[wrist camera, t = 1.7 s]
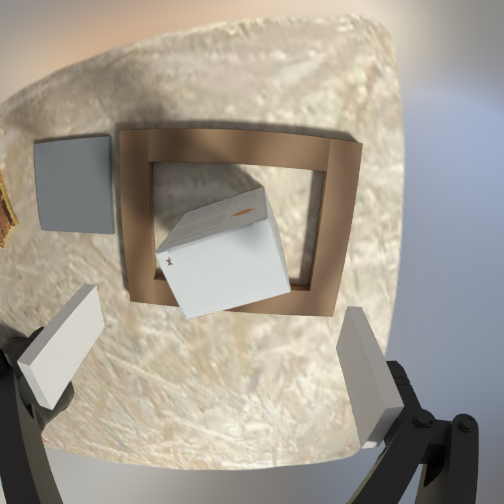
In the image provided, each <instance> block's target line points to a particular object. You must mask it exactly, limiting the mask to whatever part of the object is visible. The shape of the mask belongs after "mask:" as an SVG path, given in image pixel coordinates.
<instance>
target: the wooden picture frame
mask: <svg viewBox="0 0 504 504" xmlns="http://www.w3.org/2000/svg"><path fill="white" fill-rule="evenodd" d="M362 145H363V143H358V142H352V141H345V140H338V139H331V138H323V137H315V136H307V135H298V134H288V133H277V132H264V131H249V130H230V129H137V130H120V134H119V165H120V197H121V215H122V229H123V241H124V252H125V262H126V270H127V279H128V286H129V294H130V301H132V302H140V303H149V304H158V305H167V306H176V307H180V306H179V304H178V302H177V300H176V298H175V296H174V294H173V292H172V290H171V288H170V286H169V284H168V282H167V280H166V278H165V276H164V275H157V270H156V256H155V238H154V214H153V162H205V163H228V164H246V165H261V166H274V167H286V168H297V169H307V170H316V171H324V178H323V187H322V195H321V203H320V211H319V218H318V225H317V233H316V240H315V246H314V253H313V260H312V266H311V272H310V279H309V285H291V284H290V288H291V291H290V293H285V294H282V295H278V296H275V297H271V298H267V299H264V300H260V301H257V302H253V303H249V304H246V305H242V306H238V307H234V308H231V309H227V310H223V311H233V312H247V313H263V314H280V315H301V316H329V317H333V313H334V309H335V305H336V300H337V296H338V291H339V286H340V282H341V277H342V272H343V267H344V262H345V257H346V252H347V246H348V241H349V235H350V230H351V224H352V218H353V212H354V205H355V199H356V192H357V185H358V178H359V170H360V162H361V154H362Z"/></svg>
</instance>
